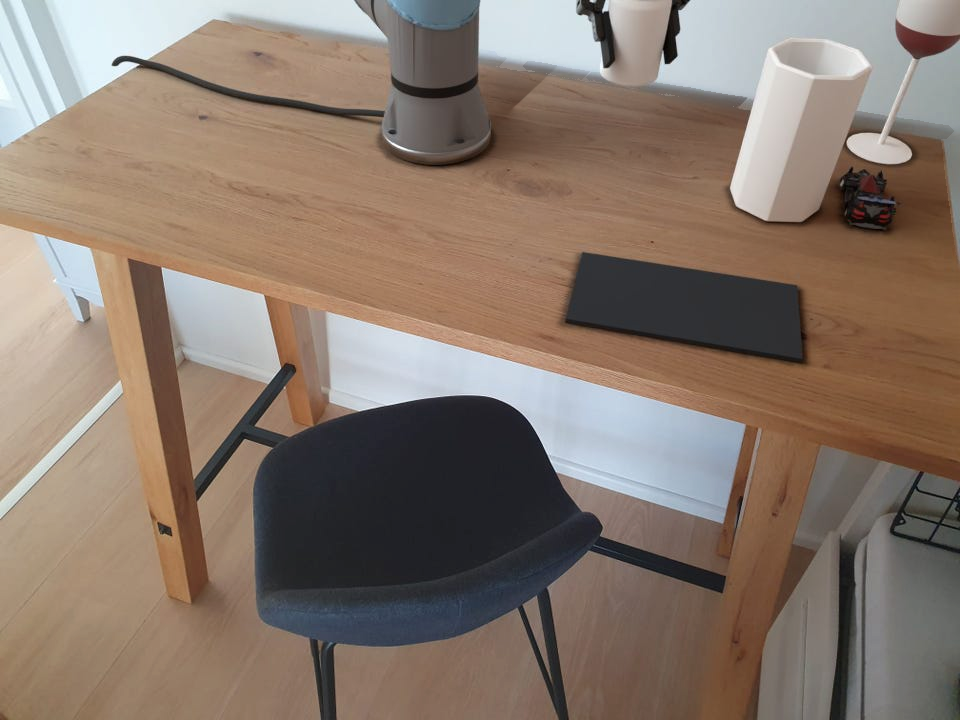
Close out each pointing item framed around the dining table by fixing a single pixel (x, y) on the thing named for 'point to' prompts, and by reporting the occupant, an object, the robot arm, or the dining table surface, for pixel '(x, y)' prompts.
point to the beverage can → (637, 40)
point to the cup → (798, 127)
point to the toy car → (863, 190)
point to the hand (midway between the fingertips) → (640, 62)
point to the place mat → (687, 306)
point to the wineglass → (911, 67)
